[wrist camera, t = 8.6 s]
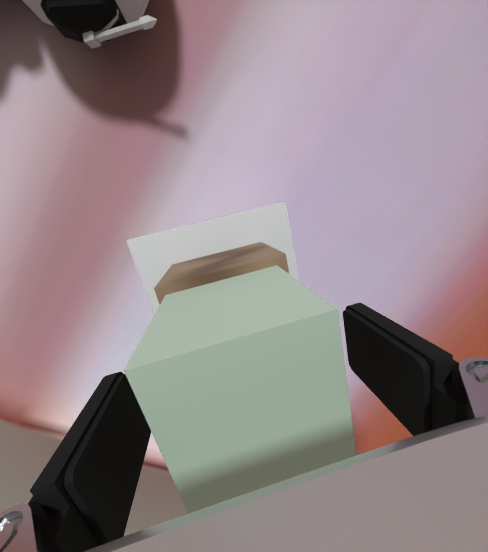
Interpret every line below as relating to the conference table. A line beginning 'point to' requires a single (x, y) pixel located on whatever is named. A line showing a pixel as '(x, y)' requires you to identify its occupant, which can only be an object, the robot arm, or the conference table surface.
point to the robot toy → (93, 18)
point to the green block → (243, 385)
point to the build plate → (211, 242)
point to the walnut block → (219, 267)
